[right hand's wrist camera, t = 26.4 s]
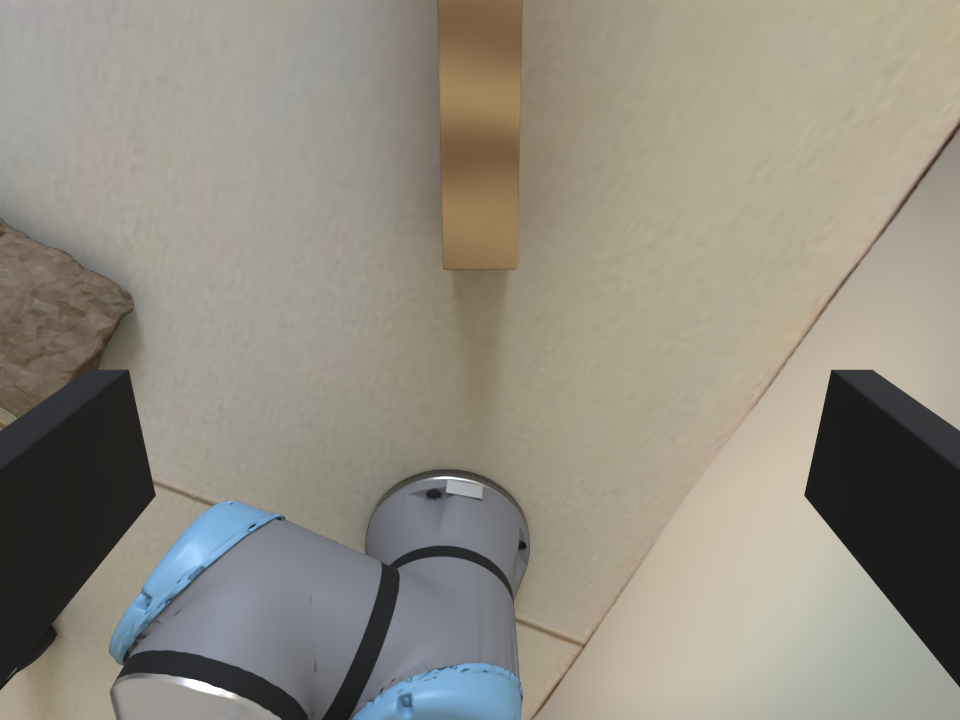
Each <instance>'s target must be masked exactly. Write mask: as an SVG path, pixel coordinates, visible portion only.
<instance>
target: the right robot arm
mask: <svg viewBox="0 0 960 720" xmlns="http://www.w3.org/2000/svg"><path fill="white" fill-rule="evenodd" d="M155 496H156V495H155V490H154V486H153V481H152V476H151V472H150V467H149V462H148V458H147V453H146V449H145V444H144V439H143V435H142V430H141V425H140V421H139V416H138V411H137V407H136V402H135V398H134V393H133V388H132V384H131V379H130V374H129V370H87V371H85V372H84V373H82V374H81V375H80V376H78V377H77V378H75V379H74V380H72V381H71V382H70V383H68V384H67V385H65V386H64V387H62V388H61V389H60V390H58V391H57V392H55V393H54V394H52V395H51V396H50V397H48V398H47V399H45V400H44V401H42V402H41V403H40V404H38V405H37V406H35V407H34V408H32V409H31V410H30V411H28V412H27V413H25V414H24V415H22V416H21V417H20V418H18V419H17V420H15V421H14V422H12V423H11V424H10V425H8V426H7V427H5V428H4V429H2V430H1V431H0V687H1V686H2V685H3V683H4V682H5V681H6V680H7V678H8V677H9V676H10V675H11V674H12V672H13V671H14V670H15V669H16V667H17V666H18V665H19V664H20V662H21V661H22V660H23V659H24V657H25V656H26V655H27V654H28V653H29V651H30V650H31V649H32V648H33V646H34V645H35V644H36V643H37V641H38V640H39V639H40V638H41V636H42V635H43V634H44V633H45V632H46V630H47V629H48V628H49V627H50V625H51V624H52V623H53V622H54V620H55V619H56V618H57V617H58V615H59V614H60V613H61V612H62V611H63V609H64V608H65V607H66V606H67V604H68V603H69V602H70V601H71V599H72V598H73V597H74V596H75V595H76V593H77V592H78V591H79V590H80V588H81V587H82V586H83V585H84V583H85V582H86V581H87V580H88V578H89V577H90V576H91V575H92V574H93V572H94V571H95V570H96V569H97V567H98V566H99V565H100V564H101V562H102V561H103V560H104V559H105V557H106V556H107V555H108V554H109V553H110V551H111V550H112V549H113V548H114V546H115V545H116V544H117V543H118V541H119V540H120V539H121V538H122V536H123V535H124V534H125V533H126V532H127V530H128V529H129V528H130V527H131V525H132V524H133V523H134V522H135V520H136V519H137V518H138V517H139V516H140V514H141V513H142V512H143V511H144V509H145V508H146V507H147V506H148V504H149V503H150V502H151V501H152V499H153V498H154V497H155ZM804 496H805V497H806V498H807V499H808V501H809V502H810V503H811V504H812V506H813V507H814V508H815V509H816V510H817V512H818V513H819V514H820V516H821V517H822V518H823V519H824V520H825V522H826V523H827V524H828V525H829V527H830V528H831V529H832V530H833V531H834V533H835V534H836V535H837V536H838V538H839V539H840V540H841V541H842V543H843V544H844V545H845V546H846V548H847V549H848V550H849V551H850V553H851V554H852V555H853V556H854V557H855V559H856V560H857V561H858V562H859V564H860V565H861V566H862V567H863V569H864V570H865V571H866V572H867V573H868V575H869V576H870V577H871V578H872V580H873V581H874V582H875V583H876V585H877V586H878V587H879V588H880V590H881V591H882V592H883V593H884V595H885V596H886V597H887V598H888V599H889V601H890V602H891V603H892V604H893V605H894V607H895V608H896V609H897V611H898V612H899V613H900V614H901V615H902V617H903V618H904V619H905V620H906V622H907V623H908V624H909V625H910V627H911V628H912V629H913V630H914V632H915V633H916V634H917V635H918V636H919V638H920V639H921V640H922V641H923V643H924V644H925V645H926V646H927V647H928V649H929V650H930V651H931V653H932V654H933V655H934V656H935V657H936V659H937V660H938V661H939V662H940V664H941V665H942V666H943V667H944V669H945V670H946V671H947V672H948V673H949V675H950V676H951V677H952V678H953V680H954V681H955V682H956V683H957V685H958V686H959V687H960V431H959V430H958V429H956V428H955V427H953V426H952V425H950V424H949V423H948V422H946V421H945V420H943V419H942V418H940V417H939V416H938V415H936V414H935V413H933V412H932V411H930V410H929V409H928V408H926V407H925V406H923V405H922V404H920V403H919V402H917V401H916V400H915V399H913V398H912V397H910V396H909V395H908V394H906V393H905V392H903V391H902V390H900V389H899V388H898V387H896V386H895V385H893V384H892V383H890V382H889V381H888V380H886V379H885V378H883V377H882V376H880V375H879V374H878V373H876V372H875V371H873V370H831V375H830V379H829V384H828V388H827V393H826V398H825V402H824V407H823V411H822V416H821V421H820V425H819V430H818V435H817V439H816V444H815V449H814V453H813V458H812V462H811V467H810V472H809V476H808V481H807V486H806V490H805V495H804ZM365 550H366V555H365V554H363V553H360V552H358V551H356V550H354V549H351V548H349V547H347V546H344V545H342V544H340V543H338V542H335V541H333V540H331V539H328V538H326V537H324V536H322V535H319V534H317V533H315V532H312V531H310V530H308V529H305V528H303V527H301V526H299V525H296V524H294V523H292V522H289V521H287V520H285V517H284V516H283V515H281V514H277V513H275V514H270V513H267V512H264V511H262V510H259V509H256V508H254V507H251V506H249V505H246V504H243V503H241V502H236V501H226V502H222V503H218V504H216V505H214V506H213V507H211V508H209V509H207V510H206V511H205V512H204V513H202V514H201V515H200V516H199V517H198V518H197V519H196V520H195V521H194V522H193V523H192V524H191V525H190V526H189V527H188V528H187V529H186V530H185V532H184V533H183V534H182V535H181V536H180V537H179V539H178V540H177V541H176V542H175V543H174V545H173V546H172V547H171V548H170V550H169V551H168V552H167V553H166V555H165V556H164V557H163V559H162V560H161V561H160V563H159V564H158V565H157V567H156V568H155V569H154V571H153V572H152V573H151V575H150V576H149V578H148V579H147V581H146V582H145V584H144V585H143V587H142V590H141V593H140V594H139V595H138V596H137V597H136V598H135V600H134V602H133V603H132V604H131V606H130V607H129V608H128V609H127V611H126V612H125V614H124V615H123V617H122V619H121V621H120V622H119V624H118V626H117V628H116V630H115V632H114V634H113V636H112V639H111V642H110V645H109V653H110V655H111V656H112V657H113V658H115V660H116V662H117V663H118V664H120V665H124V667H123V669H122V670H121V672H120V674H119V675H118V677H117V679H116V681H115V682H114V684H113V686H112V688H111V690H110V697H111V701H112V705H113V709H114V713H115V716H116V720H521V706H522V701H523V691H522V687H521V682H520V677H519V664H518V651H517V637H516V624H515V611H514V599H515V596H516V594H517V591H518V589H519V586H520V584H521V581H522V578H523V576H524V573H525V571H526V568H527V564H528V560H529V554H530V542H529V532H528V526H527V522H526V519H525V516H524V514H523V512H522V510H521V508H520V506H519V505H518V503H517V502H516V501H515V499H514V498H513V497H512V496H511V495H510V494H509V493H508V492H507V491H506V490H505V489H503V488H502V487H501V486H499V485H498V484H496V483H495V482H493V481H491V480H489V479H487V478H485V477H483V476H480V475H477V474H474V473H470V472H466V471H460V470H434V471H428V472H424V473H420V474H417V475H414V476H412V477H409V478H407V479H405V480H403V481H401V482H400V483H398V484H397V485H395V486H394V487H393V488H391V489H390V490H389V491H388V492H387V493H386V494H385V495H384V496H383V497H382V498H381V499H380V501H379V502H378V504H377V505H376V507H375V509H374V511H373V513H372V515H371V518H370V522H369V526H368V529H367V533H366V540H365Z"/></svg>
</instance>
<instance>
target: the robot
mask: <svg viewBox="0 0 960 720" xmlns="http://www.w3.org/2000/svg"><path fill="white" fill-rule="evenodd" d="M56 636H57V634H56V632H55V631H54V630H53V628H52V627H51V625H50V627H49V628H48V629H47V630H46V632H45V633H44V634H43V635H42V636H41V638H40V639H39V640H38V641H37V643H36V644H35V645H34V646H33V648H32V649H31V650H30V651H29V653H28V654H27V655H26V656H25V657H24V659H23V660H22V661H21V662H20V664H19V665H18V666H17V667H16V669H15V670H14V671H13V672H12V674H11V675H10V676H9V677H8V678H7V680H6V681H5V682H4V683H3V685H2V686H1V687H0V690H1V689H2V688H3V687H4V686H5V685H6V684H7V682H8V681H9V680H10V679H11V678H12V677H13V676H14V675H15V674H16V673H17V672H19V671H21V670H22V669H24V668H25V667H27V666H28V665H30V664H31V663H33V662H34V661H35V660H36V659H38V658H39V657H40V656H41V655H42V654H43V653H44V652H45V651H46V649H47V648H48V647H49V646H50V645H51V644H52V642H53V641H54V639H55V637H56Z"/></svg>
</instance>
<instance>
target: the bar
mask: <svg viewBox="0 0 960 720" xmlns="http://www.w3.org/2000/svg"><path fill="white" fill-rule="evenodd" d="M437 3H438V50H439V97H440V144H441V191H442V239H443V269H444V270H516V269H517V235H518V189H519V142H520V96H521V49H522V3H523V0H437Z"/></svg>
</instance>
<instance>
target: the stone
mask: <svg viewBox="0 0 960 720" xmlns="http://www.w3.org/2000/svg"><path fill="white" fill-rule="evenodd" d="M133 307H134V303H133V301H132V297H131V295H130V294H129V293H128V292H127V291H124V290H122V289H121V288H120V286H118V285H117V284H116V283H115V282H113V281H112V280H110V279H108V278H106V277H104V276H102V275H100V274H98V273H96V272H93V271H88V270H86V269H84V268H83V267H82V266H81V265H80V264H79V263H78V262H77V261H75V260H74V259H73V258H72V257H71V255H70V254H69V253H67V252H64V251H62V250H59V249H56V248H52V247H47V246H45V245H43V244H40V243H38V242H36V241H34V240H32V239H31V238H30V237H28V236H27V235H26V233H24V232H21V231H19V230H16V229H15V228H13V227H11V226H9V225H8V224H6V223H5V222H4V220H3V219H1V218H0V407H2V408H4V409H6V410H7V411H9V412H11V413H12V414H14V415H15V416H16V417H17V418H20V417H21V416H22V415H24V414H25V413H27V412H28V411H30V410H31V409H32V408H34V407H35V406H37V405H38V404H40V403H41V402H42V401H44V400H45V399H47V398H48V397H50V396H51V395H52V394H54V393H55V392H57V391H58V390H60V389H61V388H62V387H64V386H65V385H67V384H68V383H70V382H71V381H72V380H74V379H75V378H77V377H78V376H80V375H81V374H82V373H84V372H85V371H87V370H97V368H98V366H99V362H100V356H101V353H102V350H103V349H104V347H106V346H107V343H108V341H109V340H110V338H111V337H112V335H113V333H114V332H115V330H116V329H117V327H118V326H119V323H120V320H121V319H122V318H123V317H124V316H125V314H128V313H130V312H131V311H132V310H133Z"/></svg>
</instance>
